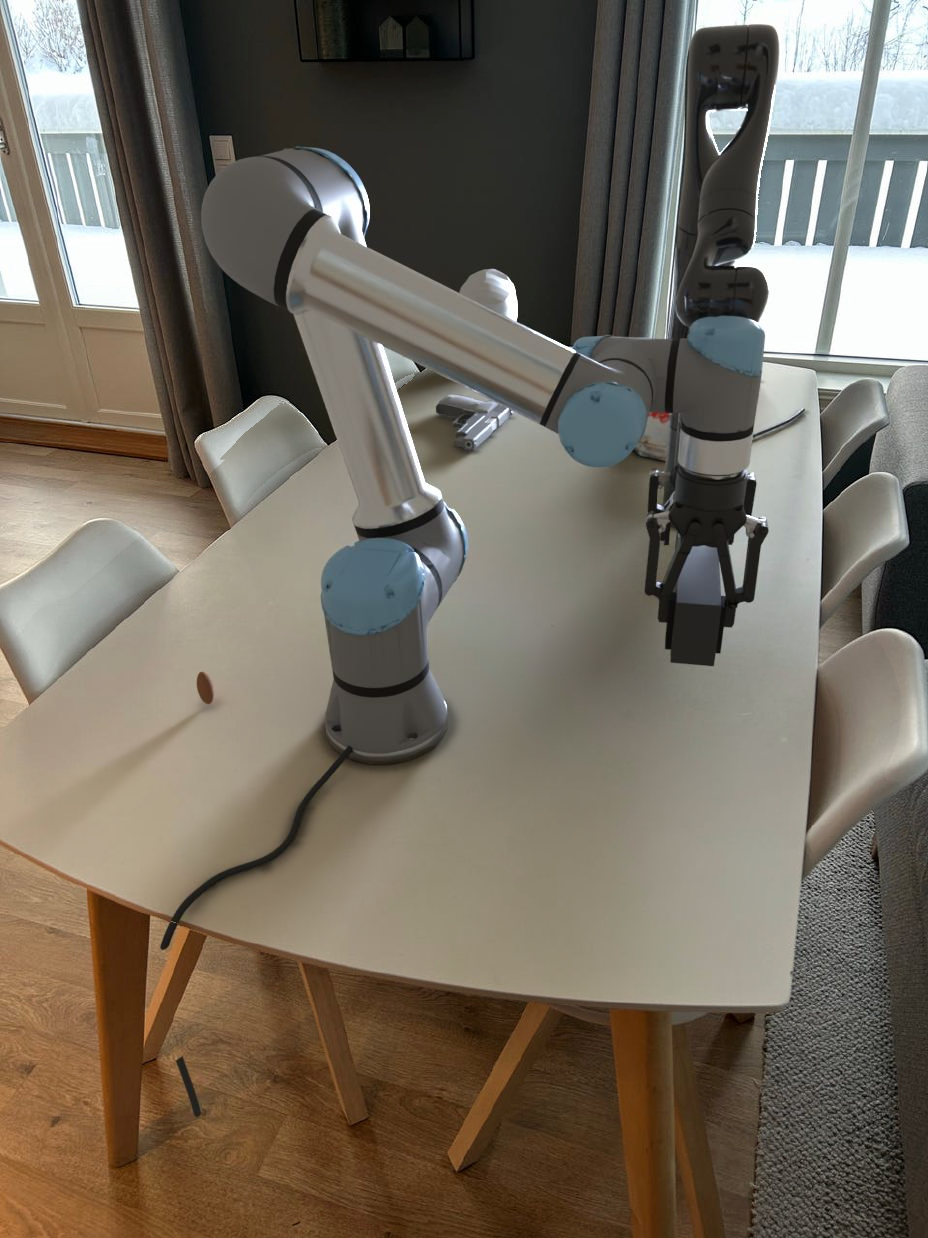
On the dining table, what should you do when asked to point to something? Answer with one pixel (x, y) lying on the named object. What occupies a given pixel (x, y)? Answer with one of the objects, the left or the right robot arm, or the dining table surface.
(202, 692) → the brown ellipsoid
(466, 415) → the pistol
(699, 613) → the bar
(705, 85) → the right robot arm
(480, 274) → the human head
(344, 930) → the dining table surface
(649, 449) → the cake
